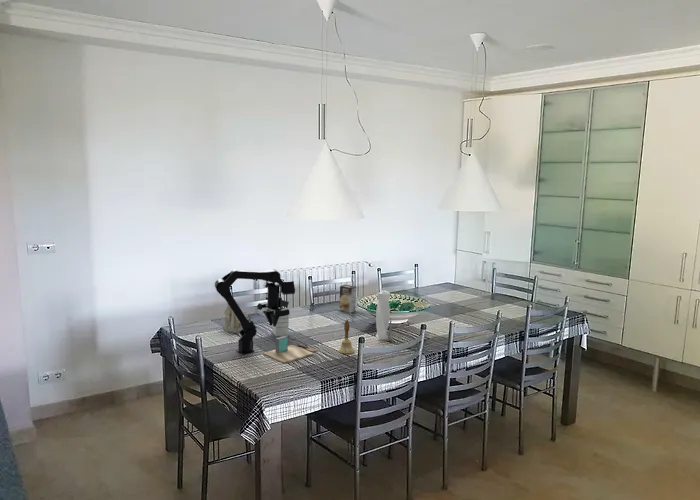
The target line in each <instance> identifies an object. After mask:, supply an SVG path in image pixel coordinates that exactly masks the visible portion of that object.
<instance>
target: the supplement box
mask: <svg viewBox="0 0 700 500" xmlns="http://www.w3.org/2000/svg"><path fill="white" fill-rule="evenodd" d="M289 316H290V314H289V315H286V316H280V317H279V319H278V322H277V324H276V326H275V327H274V326H273V325H272V331H271V332H272V334H273V335H274V336H275V337H276V338H278V337H282V336H287V337H288V336H289V324H290V322H289V321H290V320H289V319H290V317H289Z"/></svg>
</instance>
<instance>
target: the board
mask: <svg viewBox="0 0 700 500" xmlns="http://www.w3.org/2000/svg"><path fill="white" fill-rule="evenodd" d="M275 351H276V348H275V349H273V350H269V351H265V352H263V355H264V356H266V357H268V358H271V359H273V360H275V361H278V362H280V363H282V364H287V363H291V362H294V361H297V360H300V359H304V358H307V357H310V356H313V355H314V352H310V351H308V350H306V349H305V348H301V347H300V346H299V347H298V346H296V345H294V344H290V345H289V344H288V350H287V351H284V352H281V353H276V352H275Z"/></svg>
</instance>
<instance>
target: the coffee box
mask: <svg viewBox="0 0 700 500" xmlns="http://www.w3.org/2000/svg"><path fill="white" fill-rule="evenodd" d="M356 302H357V286H354V285H350V284H342V285H340V286H339V304H338V305H339V306H338V311H341V312H346V313H350V314H351V313H354V312H355V311H356V305H357V303H356Z"/></svg>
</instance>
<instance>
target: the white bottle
mask: <svg viewBox="0 0 700 500" xmlns="http://www.w3.org/2000/svg"><path fill="white" fill-rule="evenodd" d="M378 291H380V292H378ZM376 293H377V301H378V302H377V305H376V312H375V327H376V335H375V338H376V340H378V341H379V342H389V340H392V331H393V330H392V329H393V327H392V326H393V325H392V319H391V316H390V315H391V309H390V304H389V299H390V296H391V291H389V290H384V289H381V288H376ZM387 332H388V334H387Z"/></svg>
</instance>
